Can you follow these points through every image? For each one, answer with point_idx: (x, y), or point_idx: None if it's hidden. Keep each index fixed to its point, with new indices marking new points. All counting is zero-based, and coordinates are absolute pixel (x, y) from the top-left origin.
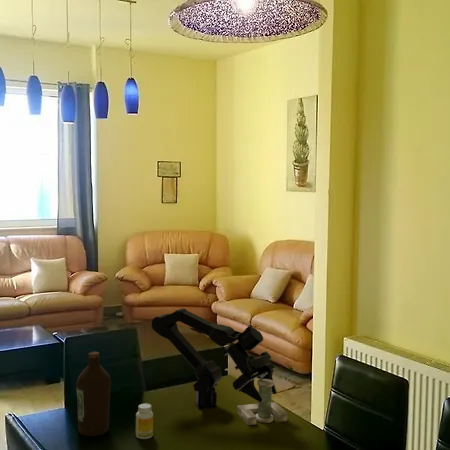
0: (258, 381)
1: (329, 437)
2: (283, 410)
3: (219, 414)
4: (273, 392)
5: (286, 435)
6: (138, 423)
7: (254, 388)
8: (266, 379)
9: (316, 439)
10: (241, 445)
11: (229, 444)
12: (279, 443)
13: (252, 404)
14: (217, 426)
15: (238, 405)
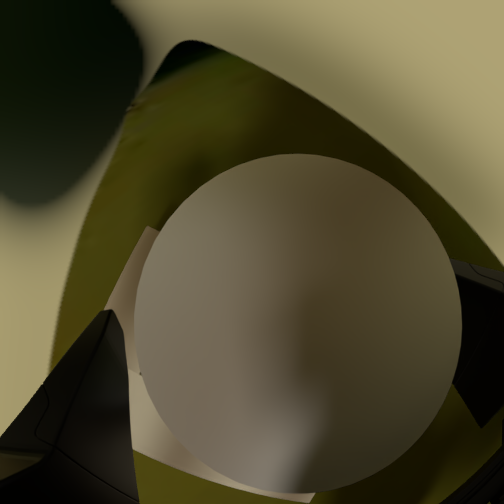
0: (429, 401)
1: (170, 67)
2: (122, 278)
3: (374, 493)
4: (121, 342)
5: (283, 146)
6: None
7: (496, 276)
8: (202, 426)
9: (216, 77)
10: (451, 206)
11: (473, 235)
12: (347, 130)
13: (218, 478)
14: (451, 384)
15: (303, 501)
